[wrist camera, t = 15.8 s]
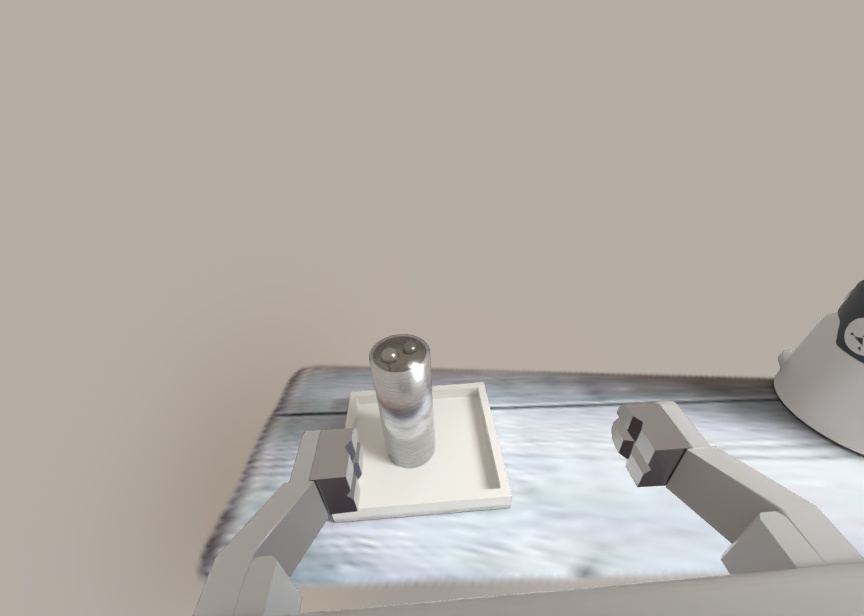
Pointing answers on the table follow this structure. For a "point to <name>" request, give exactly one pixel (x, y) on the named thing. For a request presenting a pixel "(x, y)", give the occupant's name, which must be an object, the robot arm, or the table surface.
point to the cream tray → (431, 460)
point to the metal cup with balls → (405, 398)
